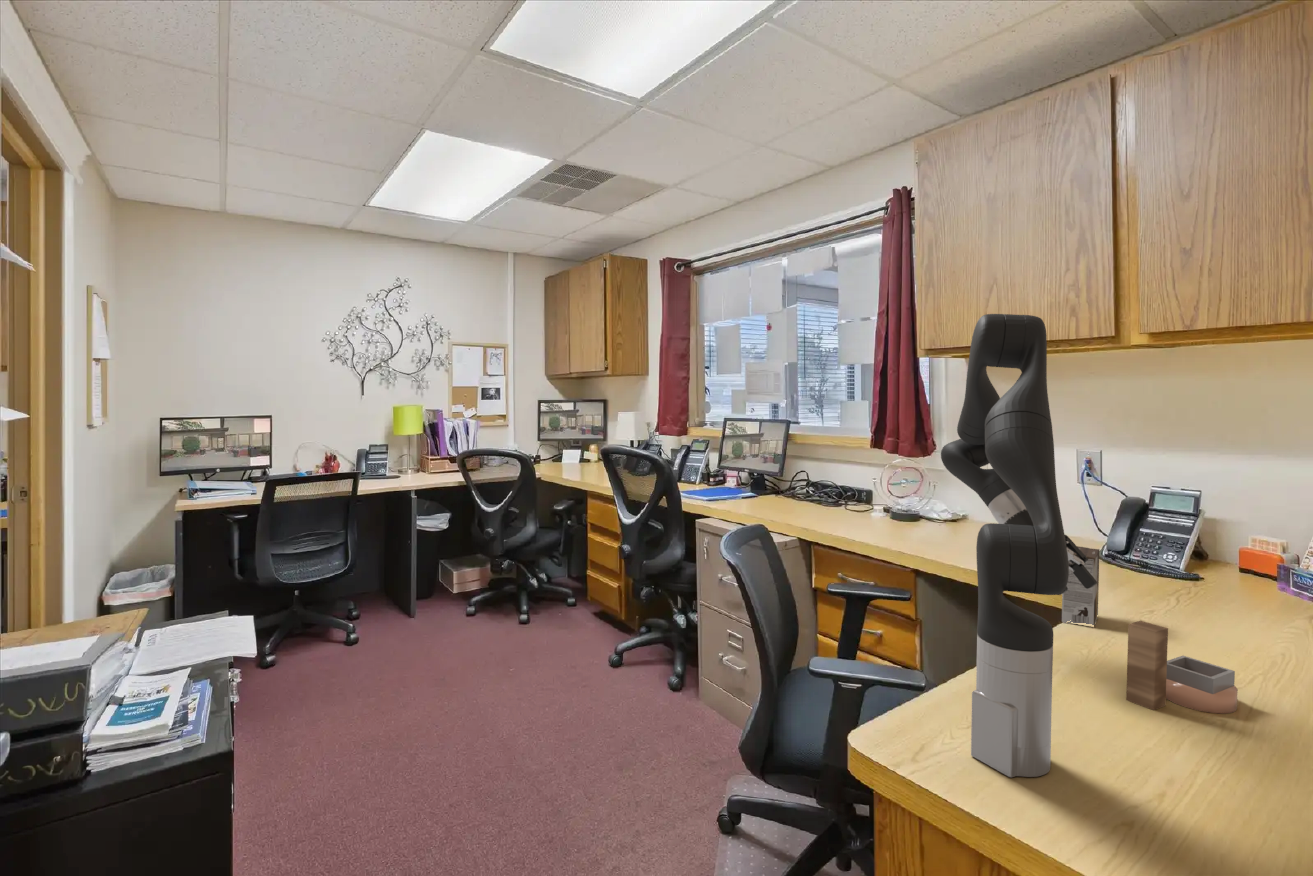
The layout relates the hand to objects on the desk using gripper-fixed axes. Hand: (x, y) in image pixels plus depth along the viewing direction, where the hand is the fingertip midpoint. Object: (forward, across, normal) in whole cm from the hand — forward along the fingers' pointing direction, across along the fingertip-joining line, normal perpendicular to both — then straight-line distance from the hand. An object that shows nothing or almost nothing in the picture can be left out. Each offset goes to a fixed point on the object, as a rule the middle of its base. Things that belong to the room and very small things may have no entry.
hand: (1078, 589), depth 114 cm
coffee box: (-1, +31, +24) cm, 39 cm away
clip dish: (+22, +9, +1) cm, 23 cm away
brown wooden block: (+19, 0, +4) cm, 20 cm away
